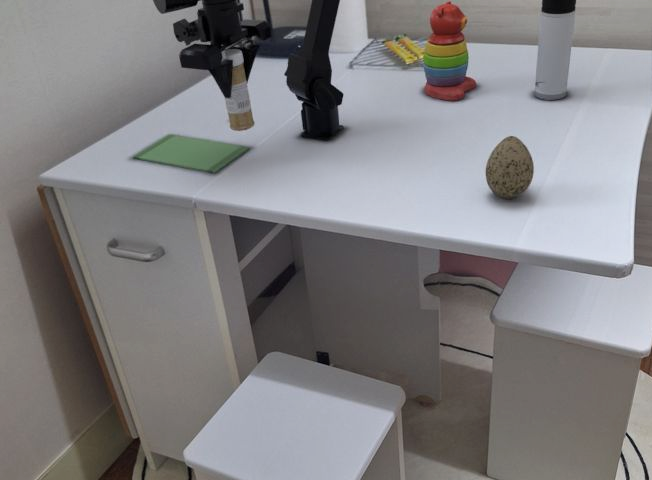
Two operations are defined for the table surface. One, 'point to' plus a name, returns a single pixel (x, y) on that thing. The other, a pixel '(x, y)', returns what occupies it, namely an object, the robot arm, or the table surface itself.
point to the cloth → (191, 153)
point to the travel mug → (554, 48)
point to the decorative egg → (509, 168)
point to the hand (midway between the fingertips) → (235, 93)
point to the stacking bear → (447, 55)
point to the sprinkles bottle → (238, 94)
